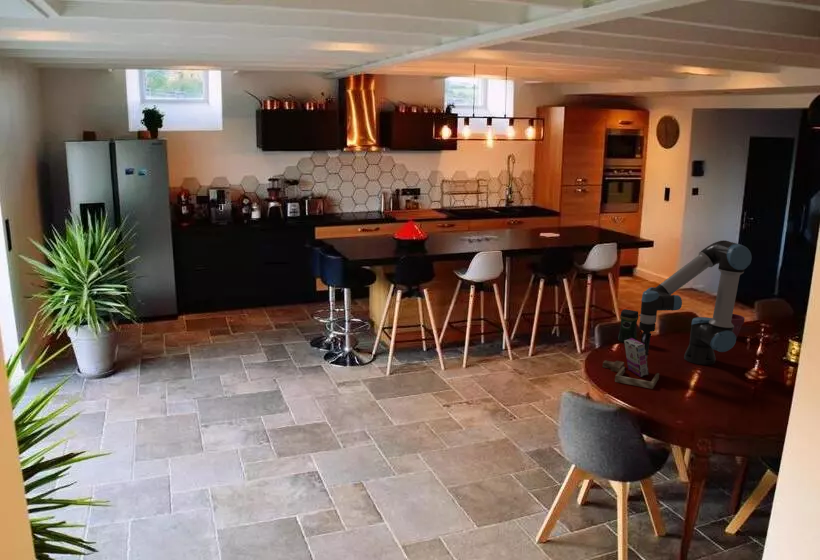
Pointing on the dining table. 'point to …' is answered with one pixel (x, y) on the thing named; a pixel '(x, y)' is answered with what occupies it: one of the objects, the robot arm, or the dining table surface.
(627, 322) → the coffee jar
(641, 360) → the candy bar box
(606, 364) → the walnut T block
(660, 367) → the dining table surface
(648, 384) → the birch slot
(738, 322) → the plant pot
